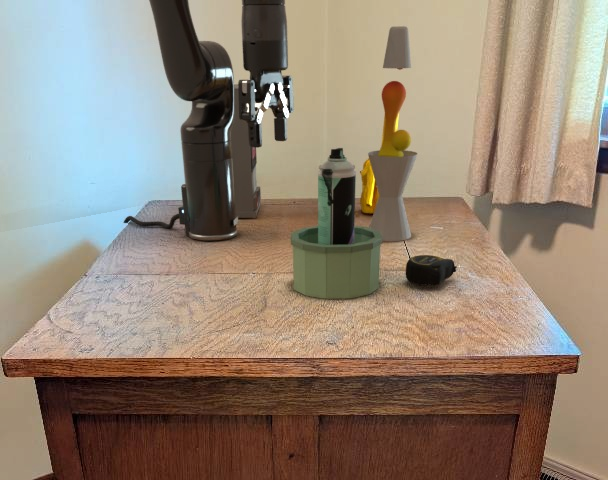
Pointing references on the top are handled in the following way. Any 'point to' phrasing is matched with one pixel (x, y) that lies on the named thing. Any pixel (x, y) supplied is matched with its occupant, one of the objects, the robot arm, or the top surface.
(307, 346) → the top surface
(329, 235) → the spray can
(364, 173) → the figure statuette
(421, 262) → the tape measure
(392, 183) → the lava lamp
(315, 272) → the hollow green tube
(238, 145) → the tall labeled grey carton
